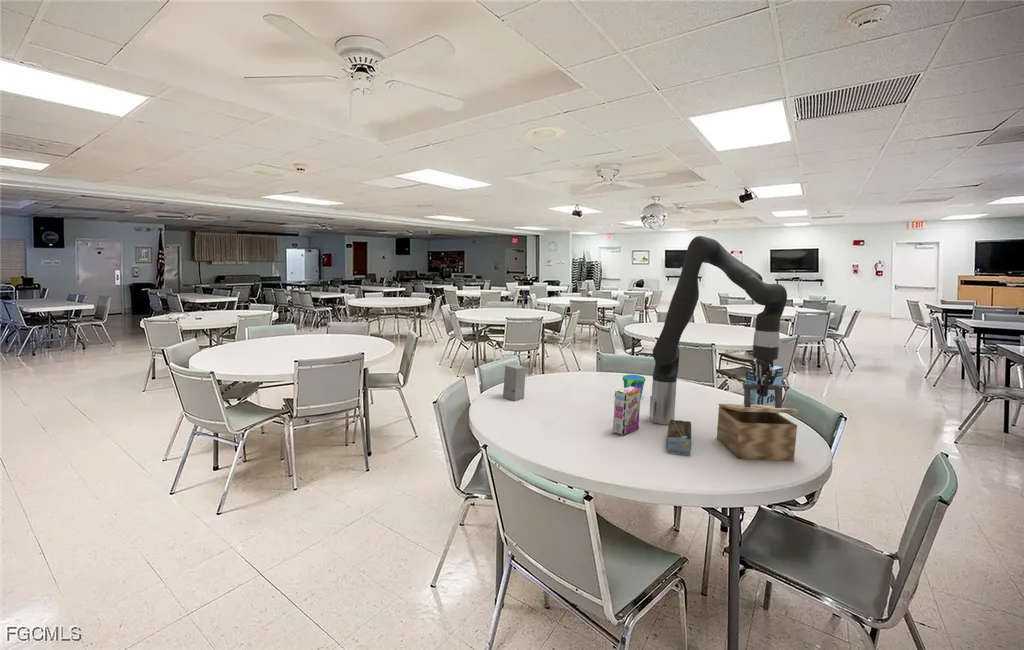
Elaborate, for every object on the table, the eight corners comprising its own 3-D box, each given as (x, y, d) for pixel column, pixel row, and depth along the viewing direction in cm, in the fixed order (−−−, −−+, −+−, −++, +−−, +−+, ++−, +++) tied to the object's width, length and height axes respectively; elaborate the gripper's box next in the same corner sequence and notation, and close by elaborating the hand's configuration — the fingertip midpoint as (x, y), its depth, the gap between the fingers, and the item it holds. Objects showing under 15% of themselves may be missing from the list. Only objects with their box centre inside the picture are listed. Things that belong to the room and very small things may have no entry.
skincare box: (502, 397, 219) (503, 365, 217) (513, 395, 224) (514, 363, 222) (514, 401, 213) (515, 368, 211) (525, 398, 218) (526, 366, 216)
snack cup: (636, 403, 213) (637, 381, 212) (615, 399, 220) (616, 378, 218) (649, 396, 225) (650, 375, 224) (629, 392, 232) (630, 372, 230)
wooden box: (737, 458, 152) (740, 423, 150) (716, 438, 170) (718, 407, 168) (793, 460, 151) (797, 425, 149) (766, 440, 169) (769, 408, 167)
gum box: (766, 418, 194) (771, 364, 191) (779, 421, 189) (784, 367, 187) (740, 426, 183) (745, 370, 180) (753, 430, 179) (758, 372, 176)
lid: (740, 411, 150) (740, 384, 151) (718, 406, 168) (718, 381, 169) (797, 413, 149) (796, 385, 150) (769, 407, 167) (769, 383, 168)
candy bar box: (623, 436, 171) (625, 393, 169) (612, 432, 174) (614, 390, 172) (639, 429, 179) (641, 388, 177) (628, 426, 182) (630, 385, 180)
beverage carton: (665, 453, 156) (666, 434, 156) (668, 434, 174) (669, 417, 173) (690, 457, 153) (691, 437, 153) (690, 437, 171) (692, 420, 170)
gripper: (745, 340, 160) (741, 389, 162) (764, 347, 146) (760, 400, 148) (767, 341, 159) (763, 390, 161) (788, 347, 146) (784, 401, 148)
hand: (761, 395), depth 155 cm, fingers closed on lid, 2 cm apart
